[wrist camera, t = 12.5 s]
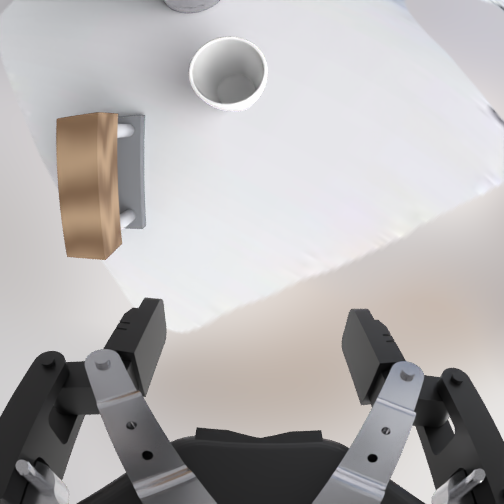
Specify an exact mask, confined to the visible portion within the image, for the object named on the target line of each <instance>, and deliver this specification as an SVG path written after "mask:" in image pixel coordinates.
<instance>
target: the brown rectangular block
mask: <svg viewBox="0 0 504 504" xmlns="http://www.w3.org/2000/svg"><path fill="white" fill-rule="evenodd" d="M117 130H118V114H115V113H100V112H97V113H89V114H83V115H76V116H70V117H64V118H59V119H57V128H56V145H57V174H58V189H59V200H60V210H61V219H62V226H63V234H64V240H65V247H66V253H67V257H76V258H88V259H100V260H106V259H107V258H108V257H109V256H110V255H111V254H112V253H113V252H114V251H115V250H116V249H117V248H118V247H119V246H120V245H121V244H122V238H121V226H120V213H119V196H118V167H117Z"/></svg>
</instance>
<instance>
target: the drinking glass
mask: <svg viewBox="0 0 504 504" xmlns="http://www.w3.org/2000/svg"><path fill="white" fill-rule="evenodd" d="M267 71H268V70H267V63H266V59H265V57H264V55H263V53H262V52H261V51H260V49H259V48H258V47H257V46H256V45H254V44H253V43H251V42H250V41H248V40H245V39H243V38H239V37H232V36H228V37H220V38H216V39H214V40H211V41H209V42H207V43H206V44H204V45H203V46H202V47H201V48H200V49H199V50H198V51H197V52H196V53H195V55H194V56H193V58H192V60H191V63H190V66H189V80H190V84H191V86H192V88H193V90H194V92H195V93H196V94H197V95H198V96H199V97H200V98H201V99H202V100H203V101H204V102H205V103H207V104H208V105H210V106H212V107H214V108H216V109H219V110H223V111H233V112H239V111H243V110H246V109H248V108H249V107H251V106H252V105H253V104H254V103H255V102H256V101H257V100H258V99H259V97H260V96H261V94H262V93H263V91H264V89H265V86H266V82H267V75H268V72H267Z"/></svg>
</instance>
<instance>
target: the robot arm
mask: <svg viewBox="0 0 504 504" xmlns="http://www.w3.org/2000/svg"><path fill="white" fill-rule="evenodd" d="M164 1H165V3H166V4H167V5H168V6H169V7H170V8H172V9H173V10H176V11H178V12H183V13H194V12H200V11H203V10H206V9H208V8H210V7H212V6H214V5H215V4H217V3H218V2H219V1H220V0H164ZM165 340H166V322H165V313H164V304H163V300H162V299H155V298H144V300H143V301H142V303H141V305H140V307H139V308H132V309H130V310H129V311H128V312H127V313H125V314H124V316H123V317H122V319H121V320H120V323H119V324H118V325H117V327H116V329H115V330H114V332H113V334H112V335H111V337H110V339H109V340H108V342H107V344H106V345H105V347H104V349H101V350H97V351H94V352H92V353H91V354H90V355H88V356H87V358H86V360H85V361H82V362H66V360H65V358H64V356H63V355H62V354H61V353H59V352H56V351H48V352H45V353H42V354H40V355H39V356H38V357H37V358H36V359H35V360H34V362H33V363H32V365H31V366H30V368H29V370H28V371H27V373H26V374H25V376H24V377H23V379H22V381H21V382H20V384H19V386H18V387H17V389H16V390H15V392H14V394H13V395H12V397H11V399H10V401H9V402H8V404H7V406H6V408H5V410H4V411H3V413H2V415H1V417H0V504H69V491H68V488H67V486H66V485H65V483H64V482H63V481H62V479H63V476H64V473H65V470H66V467H67V464H68V461H69V457H70V455H71V452H72V449H73V446H74V443H75V440H76V438H77V435H78V432H79V429H80V427H81V424H82V422H83V419H84V416H85V415H86V414H89V415H91V414H100V415H101V417H102V419H103V422H104V424H105V427H106V429H107V432H108V434H109V436H110V439H111V441H112V443H113V445H114V448H115V450H116V452H117V454H118V456H119V459H120V461H121V463H122V465H123V466H124V469H125V471H126V473H125V474H123V475H122V476H120V477H119V478H117V479H116V480H114V481H113V482H111V483H110V484H108V485H106V486H105V487H103V488H102V489H100V490H99V491H97V492H95V493H94V494H92V495H90V496H89V497H87V498H86V499H84V500H82V501H80V502H79V503H77V504H425V503H424V502H422V501H421V500H419V499H418V498H416V497H415V496H413V495H412V494H410V493H409V492H407V491H406V490H405V489H403V488H402V487H400V486H399V485H397V484H396V483H395V482H393V481H392V480H390V478H391V476H392V474H393V471H394V469H395V467H396V465H397V462H398V460H399V458H400V456H401V453H402V451H403V448H404V445H405V443H406V441H407V438H408V435H409V433H410V430H411V427H412V425H413V426H416V429H417V432H418V434H419V437H420V440H421V443H422V446H423V449H424V452H425V455H426V459H427V462H428V465H429V468H430V471H431V475H432V478H433V482H434V485H435V488H436V491H435V493H434V494H433V497H432V504H504V441H503V439H502V437H501V435H500V433H499V431H498V429H497V427H496V425H495V423H494V421H493V419H492V418H491V416H490V414H489V412H488V410H487V408H486V406H485V404H484V403H483V401H482V399H481V397H480V395H479V394H478V392H477V390H476V389H475V387H474V385H473V384H472V382H471V380H470V378H469V377H468V375H467V374H466V373H464V372H463V371H461V370H459V369H456V368H448V369H446V370H444V371H443V373H442V375H441V377H433V376H426V375H424V373H423V371H422V370H421V368H420V367H418V366H417V365H415V364H414V363H411V362H407V361H405V359H404V357H403V355H402V353H401V351H400V350H399V348H398V346H397V344H396V343H395V342H394V339H393V337H392V336H391V335H390V332H389V331H388V329H387V327H386V326H385V325H384V324H382V323H381V322H380V321H379V320H374V318H373V317H372V315H371V313H370V311H369V310H368V309H351V310H350V312H349V315H348V319H347V322H346V326H345V330H344V333H343V337H342V350H343V353H344V356H345V359H346V362H347V365H348V367H349V371H350V373H351V376H352V379H353V382H354V385H355V388H356V391H357V394H358V397H359V400H360V403H361V405H368V404H371V405H372V409H371V411H370V413H369V415H368V417H367V419H366V421H365V422H364V424H363V426H362V428H361V430H360V431H359V433H358V435H357V437H356V438H355V440H354V442H353V443H352V445H351V447H350V448H348V447H346V446H344V445H342V444H340V443H338V442H335V441H332V440H328V439H323V438H322V433H321V430H320V431H319V430H318V431H298V432H297V431H296V432H287V433H283V434H278V435H274V436H269V437H264V438H256V437H252V436H248V435H244V434H240V433H236V432H232V431H229V430H218V429H206V428H197V430H196V435H195V436H190V437H184V438H181V439H177V440H175V441H173V442H169V440H168V438H167V437H166V435H165V433H164V432H163V430H162V429H161V427H160V425H159V424H158V422H157V421H156V419H155V417H154V415H153V414H152V412H151V410H150V408H149V407H148V405H147V403H146V401H145V400H144V398H143V397H146V394H147V391H148V388H149V385H150V382H151V380H152V377H153V374H154V371H155V368H156V365H157V363H158V360H159V357H160V355H161V352H162V349H163V346H164V344H165ZM449 417H450V418H451V420H452V422H453V424H454V427H455V434H454V433H453V430H452V428H451V426H450V424H449V421H448V418H449Z"/></svg>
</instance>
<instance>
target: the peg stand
mask: <svg viewBox="0 0 504 504" xmlns="http://www.w3.org/2000/svg"><path fill="white" fill-rule="evenodd" d="M144 126H145V116H144V115H137V116H124V117H118V130H117V167H118V196H119V213H120V226H121V230H123V229H124V228H130V229H143V228H144V227H145V226H146V219H145V194H144Z"/></svg>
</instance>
